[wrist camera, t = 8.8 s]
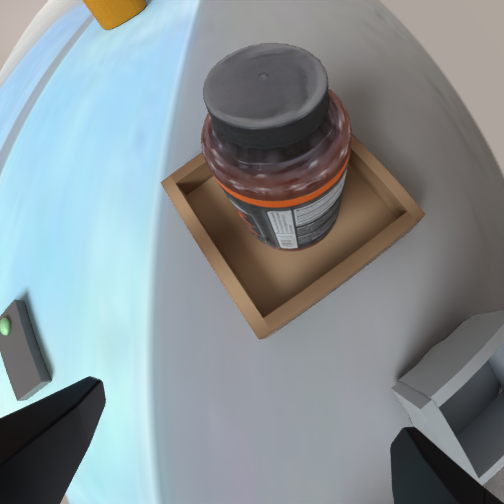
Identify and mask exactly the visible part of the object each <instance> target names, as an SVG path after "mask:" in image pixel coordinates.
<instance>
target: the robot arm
mask: <svg viewBox="0 0 504 504" xmlns="http://www.w3.org/2000/svg"><path fill="white" fill-rule="evenodd" d="M105 403H106V398H105V392H104V386H103V382H102V381H101V380H100V379H97V378H94V377H91V376H89V377H86V378H84V379H82V380H80V381H78V382H76V383H74V384H72V385H70V386H68V387H66V388H64V389H62V390H60V391H58V392H56V393H53V394H51V395H49V396H47V397H45V398H43V399H41V400H39V401H37V402H35V403H32V404H30V405H28V406H26V407H24V408H22V409H19V410H17V411H15V412H13V413H11V414H9V415H6V416H4V417H2V418H0V504H60V503H61V501H62V499H63V497H64V495H65V493H66V491H67V489H68V487H69V485H70V483H71V481H72V479H73V477H74V475H75V473H76V471H77V469H78V467H79V465H80V463H81V461H82V459H83V457H84V455H85V453H86V452H87V450H88V447H89V445H90V443H91V441H92V438H93V435H94V433H95V430H96V427H97V425H98V422H99V420H100V417H101V414H102V412H103V409H104V407H105ZM390 454H391V472H392V490H393V497H394V504H504V503H503V502H501V501H500V500H499V499H498V498H496V497H495V496H494V495H493V494H491V493H490V492H489V491H488V490H487V489H486V488H484V487H483V486H482V485H481V484H480V483H479V482H477V481H476V480H475V479H474V478H473V477H472V476H470V475H469V474H468V473H467V472H466V471H465V470H464V469H462V468H461V467H460V466H459V465H458V464H457V463H456V462H454V461H453V460H452V459H451V458H450V457H449V456H448V455H446V454H445V453H444V452H443V451H442V450H441V449H440V448H439V447H437V446H436V445H435V444H434V443H433V442H432V441H431V440H430V439H428V438H427V437H426V436H425V435H424V434H423V433H422V432H421V431H419V430H418V429H417V428H416V427H404V428H403V429H402V430H401V431H400V432H399V434H398V435H397V437H396V438H395V439H394V441H393V442H392V444H391V448H390Z"/></svg>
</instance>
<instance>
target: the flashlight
mask: <svg viewBox="0 0 504 504" xmlns="http://www.w3.org/2000/svg"><path fill="white" fill-rule="evenodd" d="M83 2H84V3H85V4H86V6H87V7H88V9H89V10H90V11H91V13H92V14H93V16H94V17H95V18H96V20H97V21H98V22H99V24H100V25H101V26H102V28H103V29H105V30H109V29H113V28H115V27H117V26H119V25H121V24H122V23H124V22H126V21H127V20H129V19H130V18H132V17H134V16H135V15H137V14H138V13H139V12H141V11H142V10H143V9H144V8H145V6H146V3H145V1H144V0H83Z"/></svg>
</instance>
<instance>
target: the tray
mask: <svg viewBox="0 0 504 504" xmlns="http://www.w3.org/2000/svg"><path fill="white" fill-rule="evenodd" d="M161 184H162V186H163V188H164V189H165V191H166V193H167V194H168V196H169V198H170V200H171V201H172V203H173V205H174V206H175V208H176V210H177V211H178V213H179V215H180V216H181V218H182V220H183V221H184V223H185V224H186V226H187V228H188V229H189V231H190V233H191V234H192V236H193V238H194V239H195V241H196V242H197V244H198V246H199V247H200V249H201V251H202V252H203V254H204V255H205V257H206V259H207V260H208V262H209V263H210V265H211V266H212V268H213V270H214V271H215V273H216V274H217V276H218V278H219V279H220V281H221V282H222V284H223V285H224V287H225V289H226V290H227V292H228V293H229V295H230V296H231V298H232V299H233V301H234V302H235V304H236V306H237V307H238V309H239V310H240V312H241V313H242V315H243V316H244V318H245V319H246V321H247V322H248V324H249V325H250V327H251V328H252V330H253V331H254V333H255V334H256V336H257V337H258V339H265V338H267V337H269V336H270V335H272V334H273V333H275V332H276V331H278V330H279V329H280V328H282V327H283V326H285V325H286V324H288V323H289V322H291V321H292V320H294V319H295V318H296V317H298V316H299V315H301V314H302V313H304V312H305V311H306V310H308V309H309V308H311V307H312V306H313V305H315V304H316V303H318V302H319V301H320V300H322V299H323V298H324V297H326V296H327V295H329V294H330V293H331V292H333V291H334V290H335V289H337V288H338V287H339V286H341V285H342V284H343V283H345V282H346V281H347V280H349V279H350V278H351V277H353V276H354V275H355V274H357V273H358V272H359V271H360V270H362V269H363V268H364V267H366V266H367V265H368V264H369V263H371V262H372V261H373V260H375V259H376V258H377V257H378V256H380V255H381V254H382V253H383V252H385V251H386V250H387V249H388V248H390V247H391V246H392V245H393V244H394V243H396V242H397V241H398V240H399V239H401V238H402V237H403V236H404V235H405V234H407V233H408V232H409V231H410V230H411V229H413V228H414V226H415V225H416V224H417V223H418V222H419V221H420V220H421V218H422V217H423V216H424V215H425V213H424V212H423V211H422V210H421V208H420V207H419V206H418V205H417V203H416V202H415V201H414V200H413V199H412V197H411V196H410V195H409V194H408V193H407V192H406V190H405V189H404V188H403V187H402V186H401V185H400V184H399V182H398V181H397V180H396V179H395V178H394V177H393V176H392V175H391V174H390V172H389V171H388V170H387V169H386V168H385V167H384V166H383V165H382V164H381V163H380V162H379V161H378V160H377V159H376V157H375V156H374V155H373V154H372V153H371V152H370V151H369V150H368V149H367V148H366V147H365V146H364V145H363V144H362V143H361V142H360V141H359V140H358V139H357V138H356V137H355V136H354V135H353V134H352V143H351V150H350V159H349V163H348V169H347V174H346V179H345V185H344V190H343V195H342V200H341V204H340V210H339V213H338V217H337V220H336V223H335V224H334V226H333V228H332V230H331V231H330V232H329V234H328V235H327V236H326V237H325V238H324V239H323V240H322V241H320V242H319V243H318V244H316V245H314V246H312V247H310V248H307V249H304V250H300V251H281V250H277V249H273V248H271V247H269V246H267V245H265V244H264V243H262V242H261V241H260V240H258V239H257V238H256V237H255V236H254V235H253V234H252V233H251V232H250V230H249V229H248V228H247V227H246V225H245V223H244V222H243V220H242V219H241V217H240V215H239V214H238V212H237V210H236V209H235V207H234V206H233V204H232V203H231V201H230V200H229V198H228V197H227V196H226V194H225V192H224V191H223V189H222V188H221V186H220V185H219V183H218V181H217V180H216V178H215V177H214V175H213V174H212V172H211V171H210V169H209V167H208V165H207V163H206V160H205V158H204V156H203V153H201V154H199V155H198V156H196V157H195V158H193V159H192V160H191V161H189V162H188V163H186V164H185V165H184V166H182V167H181V168H180V169H178V170H177V171H175V172H174V173H173V174H171V175H170V176H169V177H167V178H166V179H165V180H163V181H162V182H161Z"/></svg>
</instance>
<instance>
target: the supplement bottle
mask: <svg viewBox="0 0 504 504" xmlns="http://www.w3.org/2000/svg"><path fill="white" fill-rule="evenodd" d="M203 99H204V102H205V104H206V107H207V109H208V112H209V113H208V114H207V117H206V119H205V121H204V125H203V129H202V135H201V144H202V153H203V156H204V158H205V160H206V163H207V165H208V167H209V169H210V171H211V172H212V174H213V175H214V177H215V178H216V180H217V181H218V183H219V185H220V186H221V188H222V189H223V191H224V192H225V194H226V196H227V197H228V198H229V200H230V201H231V203H232V204H233V206H234V207H235V209H236V210H237V212H238V214H239V215H240V217H241V219H242V220H243V222H244V223H245V225H246V227H247V228H248V229H249V230H250V232H251V233H252V234H253V235H254V236H255V237H256V238H257V239H258V240H260V241H261V242H262V243H264V244H265V245H267V246H269V247H271V248H273V249H277V250H281V251H300V250H304V249H307V248H310V247H312V246H314V245H316V244H318V243H319V242H320V241H322V240H323V239H324V238H325V237H326V236H327V235H328V234H329V232H330V231H331V230H332V228H333V226H334V224H335V223H336V220H337V217H338V213H339V210H340V204H341V200H342V195H343V190H344V185H345V179H346V174H347V169H348V163H349V159H350V150H351V143H352V130H351V123H350V119H349V116H348V113H347V111H346V109H345V107H344V106H343V104H342V103H341V101H340V100H339V98H338V97H337V96H336V95H335V94H334V93H333V92H332V91H331V90H329V89H328V77H327V73H326V71H325V68H324V67H323V65H322V64H321V62H320V61H319V59H318V58H316V57H315V56H313V55H312V54H311V53H310V52H308V51H306V50H304V49H302V48H299V47H296V46H293V45H288V44H279V43H264V44H257V45H251V46H248V47H245V48H242V49H240V50H238V51H235V52H233V53H231V54H230V55H227V56H226V57H225V58H223V59H222V60H221V61H219V62H218V63H217V64H216V65H215V66H214V67H213V68H212V69H211V71H210V72H209V74H208V76H207V78H206V80H205V82H204V87H203Z"/></svg>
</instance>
